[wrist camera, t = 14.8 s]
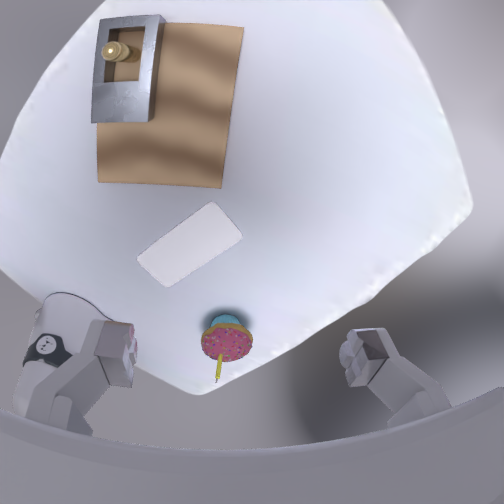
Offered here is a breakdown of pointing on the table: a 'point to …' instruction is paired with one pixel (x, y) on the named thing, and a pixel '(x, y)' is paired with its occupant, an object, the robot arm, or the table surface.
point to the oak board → (176, 111)
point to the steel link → (127, 92)
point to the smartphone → (190, 245)
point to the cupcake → (226, 341)
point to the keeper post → (120, 52)
